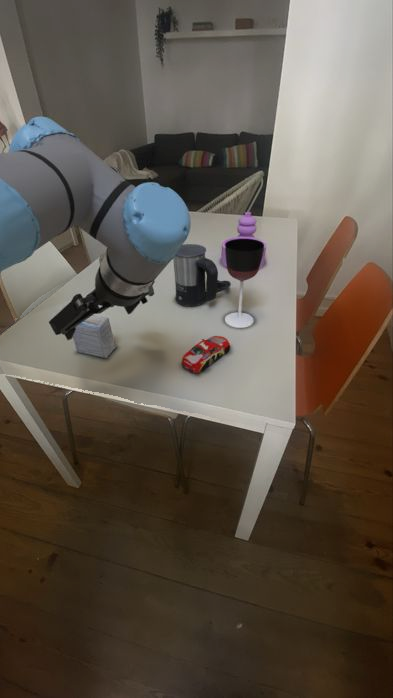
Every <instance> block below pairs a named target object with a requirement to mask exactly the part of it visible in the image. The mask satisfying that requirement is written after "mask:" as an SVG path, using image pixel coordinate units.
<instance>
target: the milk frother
mask: <svg viewBox="0 0 393 698" xmlns="http://www.w3.org/2000/svg"><path fill="white" fill-rule="evenodd" d="M206 252H207V248H206V246H204V245H201V244H196V243H185V244H184V243H183V245H182V246H181V248H180V249H179V251H178V252H177V253H176V255H175V256H174V258H173V259H172V260H173V261H172V262H173V270H174V271H173V272H174V283H175V299H174V300H175V302H176V303H177V304H179V305H180V306H183V307H184V306H185V307H196V306H200V305H203V304H204V303H206V301H207V302H212V301H214V300H215V299H216V298H217V294H218V293H221V292H223V291H225V290H227V289H228V288H230V287H231V285H232V284H231V281H229V280H219V271H218V268H217V265H216V264H215V262H214V261H212V259H210V258H207V257H206Z"/></svg>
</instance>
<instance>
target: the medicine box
mask: <svg viewBox="0 0 393 698" xmlns="http://www.w3.org/2000/svg"><path fill="white" fill-rule="evenodd" d="M111 326H112V325H111V322H110V318H109V317H108V316H107V317H106V316H102V315H98V314H94V315H92V316H91V317H89V318H88V319H86V320H85V321H83V322H82V323H80V324H79V325H77V326H76V327H75V328H76V330H75V332H74V334H73V337H72V340H73V343H74V345H75V349H76V351H77V353H80V354H85V355H89V356H94V357H99V358H104V359H107V358H108V357H109V356H110V355H111V354H112V352H113V351H114V350H115V349H116V343H115V339H114V335H113V331H112V330H113V329H112V327H111Z"/></svg>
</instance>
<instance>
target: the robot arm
mask: <svg viewBox="0 0 393 698" xmlns="http://www.w3.org/2000/svg"><path fill="white" fill-rule="evenodd" d="M191 220H192V219H191V215H190V210H189V208H188V206H187V204H186V203H185V201H184V200H183V198H182V197H181V196H180V195H179V194H178V193H177V192H176V191H175V190H173V189H172V188H170V187H168V186H167V187H164V186H162V185H160V184H159V183H158V182H153V181H152V182H151V181H150V182H149V181H148V182H143V183H141V184H139V185H137V186H135V185H134V184H131V183H130V182H129V180H126V179H125V177H123V176H121V175H120V174H119V173H118V172H117V171H116V170H114V169H113V168H112V167H111V166H110V165H109V164H108V163H106V162H105V161H104V160H103V159H102V158H101V157H99V156H98V155H97V154H96V153H95V152H93V150H91V149H90V148H88V147H87V146H86V145H85V144H84V143H83V142H82V140H81V139H80V138H79V137H77V136H76V135H75V134H74V133H72V132H70V131H68V130H67V129H65V128H64V127H63V126H61V125H60V124H58V123H57V122H56V121H54V120H53V119H51V118H49V117H46V116H35V117H32V118H31V119H30V120H29V121H28V123H27V124H23V125H21V127H20V128H19V129H18V130H17V131H16V133H15V134H14V136H13V137H12V140H11V142H10V145H9V147H8V152H4V153H0V272H3V271H5V270H7V269H9V268H11V267H13V266H15V265H17V264H20V263H23V262H25V261H27V259H29V258H30V257H32V256H33V255H34V253H35V251H37V250H39V249H40V248H41V247H43V246H45V245H46V244H47V243H49V242H50V241H52V240H54V239H55V238H56V237H58V236H60V235H62V234H63V233H66V232H67V231H69V230H70V229H72V228H73V227H74V226H77V227H78V228H79V229H80V230H82V231H84V232H85V233H86V234H87V235H89V236H90V237H91V238H93V239H94V240H96V241H97V242H99V243H100V244H102V245H103V246H104V247H106V250H105V252H104V253H105V254H104V256H103V259H102V262H101V264H100V263H99V265H98V266H99V267H98V269H97V272H96V273H95V277H94V289H93V290H92V291H91V292H89V293H88V294H87V295H86V296H85V297H83V295H82V294H81V293H76V294H75V295H73V296H72V299H71V301H70V302H68V303H67V304H66V306H63V308H62V309H61V310H59V312H58V313H56V314H55V315H54V316H53V317H52V318H51V319H50V320H49V321H48V324H49V325H50V327H51V330H52V331H53V333H54V334H55V336H59V335H63V336H64V337H65V338H66V340H67V341H70V340H73V334H74V332H75V330H76V328H75V327H76V326H77V325H79V324H80V323H82V322H83V321H85V320H86V319H88V318H89V317H91V316H92V315H100V314H102V313H103V312H105V311H107V310H108V309H109V308H114V307H115V306H116V307H121V308H124V310H125V312H126V313H127V315H131V314H132V313H133V312H134V311H135V310H136V308H137V307H138V306H139V305H140V304H142V305H145V304H147V303H148V302H149V301H148V299H147V297H146V296H148V297H153V296H154V295H155V290H154V287H153V286H154V284H155V283H156V281H155V280H156V279H157V278H158V276H160V274H161V273H162V272H163V271H164V270H165V268H166V267H167V266H168V265H169V264H170V263H171V261H172V260H173V258H174V256H175V255H176V253H177V252H178V251H179V249H180V248H181V246H182V245H184V243H185V242H186V240H187V239H188V237H189V234H190V231H191V225H192V223H191Z"/></svg>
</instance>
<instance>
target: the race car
mask: <svg viewBox="0 0 393 698" xmlns="http://www.w3.org/2000/svg"><path fill="white" fill-rule="evenodd" d="M230 349H231V343H230V341H229V340H228V338H227V337H224V336H221V335H213V336H210V337H208V338H206V339H205V338H201V341H200V342H198V343H196V344H195V345H194V346H193V347H191V348H190V349H189V350H188V351H187V352H186V353H185V354H183V356H182V358H181V367H182V368H184V369H185V370H187V371H188V372H190V373H193V374H198V373H201V372H202V371H203V372H205V371H206V370H207V369H208V367H209V366H211V365H212V364H214V363H216V361H217V360H219V359H220V358H221V357H222V356H224V355H226V354H228V353H229V351H230Z"/></svg>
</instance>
